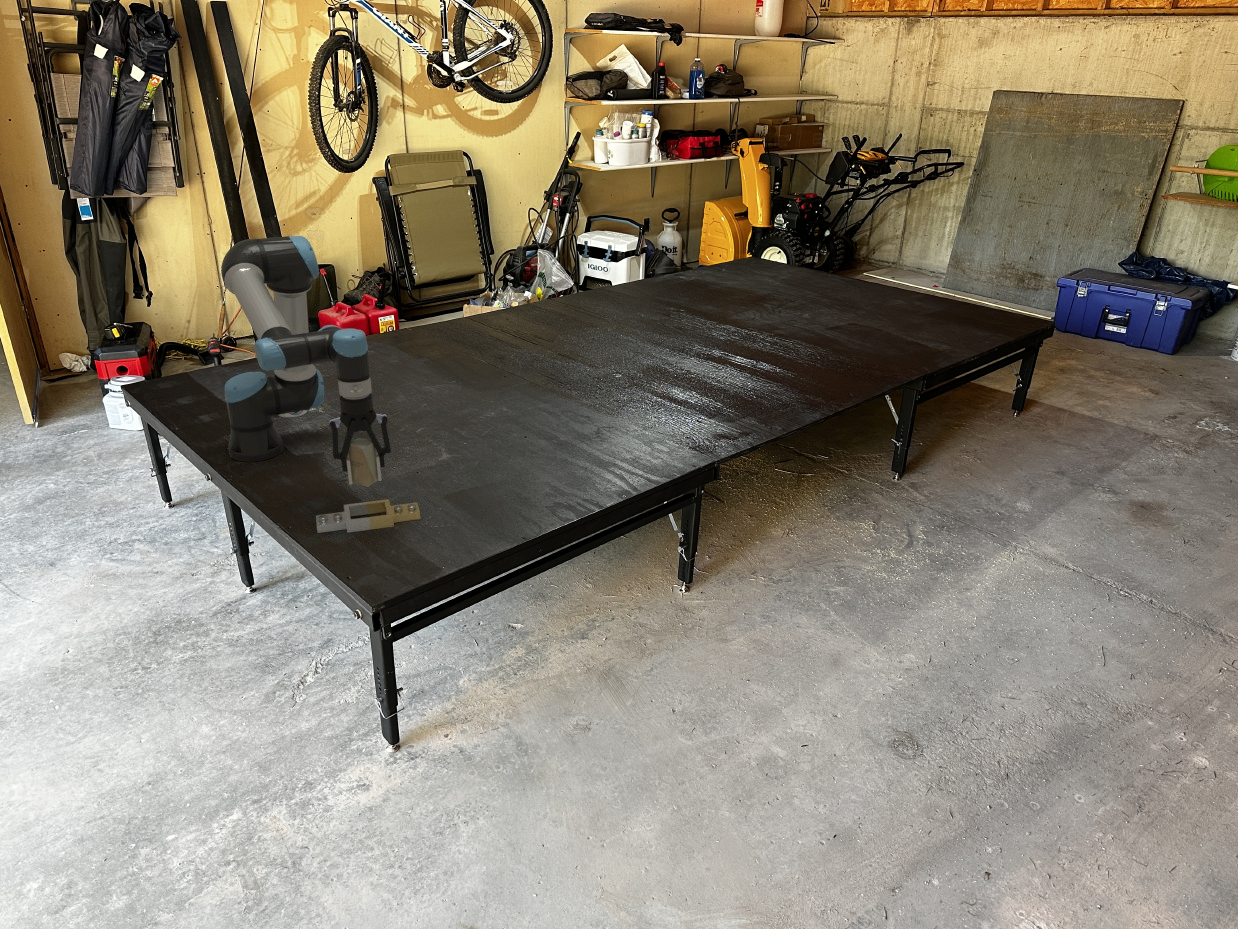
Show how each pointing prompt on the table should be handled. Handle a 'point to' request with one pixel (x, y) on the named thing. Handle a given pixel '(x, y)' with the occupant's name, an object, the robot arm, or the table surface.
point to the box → (363, 462)
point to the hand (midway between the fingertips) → (365, 480)
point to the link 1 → (344, 519)
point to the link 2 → (391, 513)
